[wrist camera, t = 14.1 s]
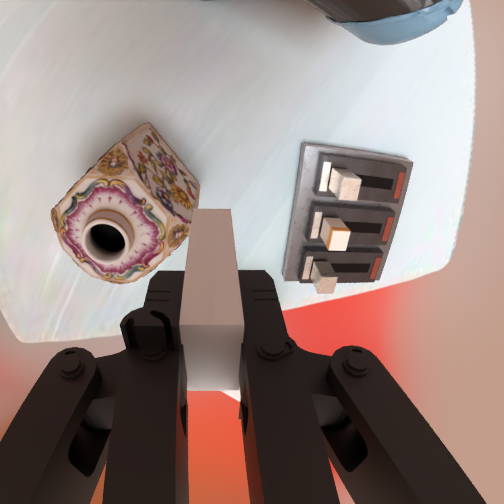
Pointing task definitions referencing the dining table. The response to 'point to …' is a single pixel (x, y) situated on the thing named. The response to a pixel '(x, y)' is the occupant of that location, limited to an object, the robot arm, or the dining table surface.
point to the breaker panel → (344, 214)
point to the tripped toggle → (335, 234)
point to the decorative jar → (128, 209)
